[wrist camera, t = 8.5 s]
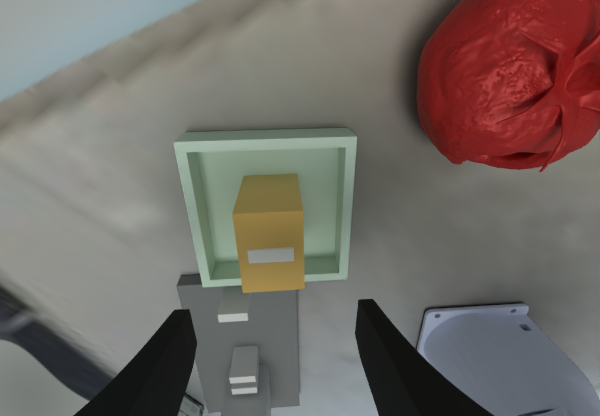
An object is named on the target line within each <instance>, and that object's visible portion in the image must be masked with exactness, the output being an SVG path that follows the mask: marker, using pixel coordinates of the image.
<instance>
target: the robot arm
mask: <svg viewBox="0 0 600 416" xmlns="http://www.w3.org/2000/svg"><path fill="white" fill-rule="evenodd" d="M528 310H529V307H528V306H527V305H526V304H507V305H491V306H475V307H459V308H443V309H430V310H427V311H426V312H425V315H424V320H423V324H422V329H421V333H420V337H419V342H418V346H417V350H416V349H415V348H414V347H413V346H412V345H411V344H410V343H409V342H408V341H407V339H406V338H405V337H404V336H403V335H402V334H401V333H400V332H399V330H398V329H397V328H396V327H395V326H394V325H393V323H392V322H391V321H390V320H389V319H388V317H387V316H386V315H385V314H384V312H383V311H382V310H381V309H380V307H379V306H378V305H377V303H376V302H375V301H374V300H373V299H363V300H358V310H357V320H356V330H355V335H356V340H357V345H358V350H359V354H360V358H361V362H362V365H363V368H364V371H365V374H366V377H367V380H368V383H369V386H370V389H371V392H372V395H373V398H374V401H375V404H376V407H377V411H378V414H379V416H600V400H599V397H598V395H597V393H596V391H595V389H594V387H593V386H592V384H591V383H590V381H589V379H588V378H587V377H586V376H585V374H584V373H583V372H582V371H581V370H580V369H579V367H578V366H577V365H576V364H575V363H574V362H573V361H572V360H571V359H570V358H569V357H568V356H567V355H566V354H565V353H564V352H563V351H562V350H561V349H560V348H559V347H558V346H557V345H556V344H555V343H554V342H553V341H552V340H551V339H550V338H549V337H548V336H547V335H546V334H545V333H544V332H543V331H542V330H541V329H540V328H539V327H538V326H537V325H536V324H535V323H534V322H533V321H532V320H531V319H530V318H529V317H528V316H527V313H528ZM196 348H197V339H196V335H195V331H194V326H193V322H192V318H191V313H190V309H180V310H174V311H173V312H172V313H171V315H170V316H169V317H168V318H167V319H166V321H165V322H164V323H163V324H162V325H161V327H160V328H159V329H158V330H157V331H156V333H155V334H154V335H153V336H152V337H151V339H150V340H149V341H148V342H147V343H146V344H145V346H144V347H143V348H142V349H141V350H140V351H139V352H138V354H137V355H136V356H135V357H134V358H133V359H132V360H131V361H130V362H129V363H128V364H127V365H126V366H125V367H124V369H123V370H122V371H121V372H120V373H119V374H118V375H117V376H116V377H115V378H114V379H113V380H112V381H111V382H110V383H109V384H108V385H107V386H106V387H105V388H104V389H103V390H102V391H101V392H99V393H98V394H97V395H96V396H95V397H94V398H93V399H92V400H91V401H90V402H89V403H88V404H86V405H85V406H84V407H83V408H82V409H81V410H80V411H78V412H77V413H76V414H75V415H74V416H178V413H179V410H180V407H181V403H182V400H183V397H184V394H185V391H186V388H187V385H188V381H189V378H190V375H191V372H192V368H193V364H194V359H195V354H196Z"/></svg>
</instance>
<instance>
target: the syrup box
mask: <svg viewBox="0 0 600 416" xmlns="http://www.w3.org/2000/svg"><path fill="white" fill-rule="evenodd" d="M203 409H204V407H203V406H201V405H200V404H198V403H197V402H195V401H194V400H193V399H191V398H190V397H188V396H187V395H185V394H184V397H183V400H182V403H181V407H180V410H179V413H178V416H202V414H203Z"/></svg>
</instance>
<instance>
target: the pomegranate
mask: <svg viewBox="0 0 600 416" xmlns="http://www.w3.org/2000/svg"><path fill="white" fill-rule="evenodd" d="M417 108H418V114H419V120H420V123H421V126H422V128H423V130H424V131H425V133H426V134H427V136H428V137H429V139H430V140H431V142H432V143H433V144H434V145H435V146H436V148H437V149H438V150H439V151H440V152H441V153H442V154H443V155H444V156H446V157H447V158H448V159H449V160H450V161H451V162H452V163H454V164H462V162H463V161H466V160H469V161H473V162H477V163H483V164H487V165H489V166H494V167H497V168H506V169H529V168H535V167H541V166H543V167H542V169H541V170H540V171H539V172H542V171H543V170H544V169H545V168H546V167H547V166H548V164H550V163H552V162H555V161H557V160H560V159H561V158H563V157H564V156H566V155H567V154H568V153H570V152H573V151H575V150H578V149H580V148H582V147H583V146H585V145H586V144H588V143H589V142H590V141H591V140H592V138H593V137H594V136H595V135H596V133H597V131H598V130H599V129H600V0H461V1H460V2H459V3H458V4H457V5H456V6H455V7H454V8H453V9H452V10H451V12H450V13H449V14H448V15H447V16H446V17H445V19H444V20H443V21H442V23H441V24H440V25H439V26H438V27H437V28H436V30H435V31H434V33H433V34H432V36H431V37H430V38H429V39H428V41H427V42H426V43H425V45H424V47H423V50H422V55H421V57H420V61H419V66H418V75H417Z"/></svg>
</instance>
